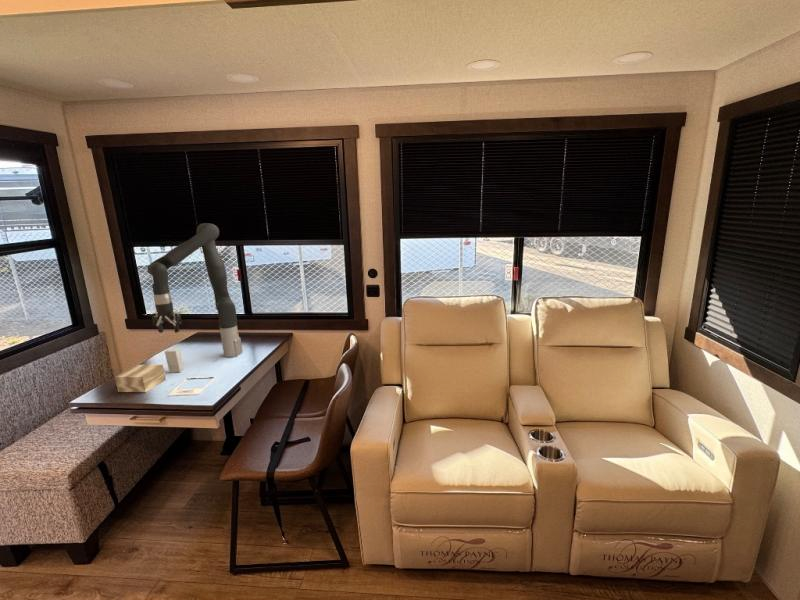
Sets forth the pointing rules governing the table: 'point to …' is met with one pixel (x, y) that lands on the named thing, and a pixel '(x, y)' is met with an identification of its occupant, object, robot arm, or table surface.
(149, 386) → the birch block
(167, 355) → the skincare box
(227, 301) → the robot arm
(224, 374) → the table surface
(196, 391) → the photo frame
